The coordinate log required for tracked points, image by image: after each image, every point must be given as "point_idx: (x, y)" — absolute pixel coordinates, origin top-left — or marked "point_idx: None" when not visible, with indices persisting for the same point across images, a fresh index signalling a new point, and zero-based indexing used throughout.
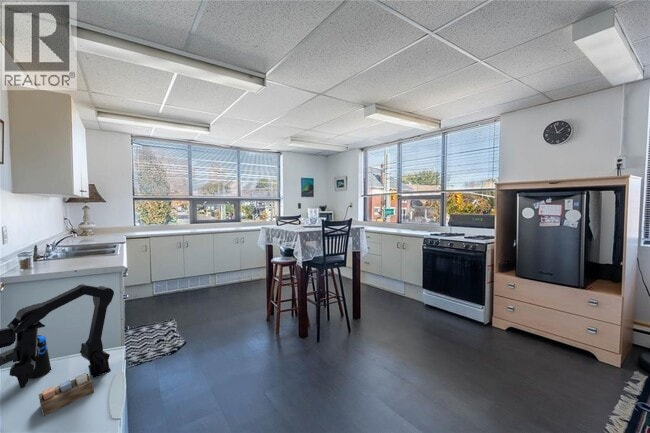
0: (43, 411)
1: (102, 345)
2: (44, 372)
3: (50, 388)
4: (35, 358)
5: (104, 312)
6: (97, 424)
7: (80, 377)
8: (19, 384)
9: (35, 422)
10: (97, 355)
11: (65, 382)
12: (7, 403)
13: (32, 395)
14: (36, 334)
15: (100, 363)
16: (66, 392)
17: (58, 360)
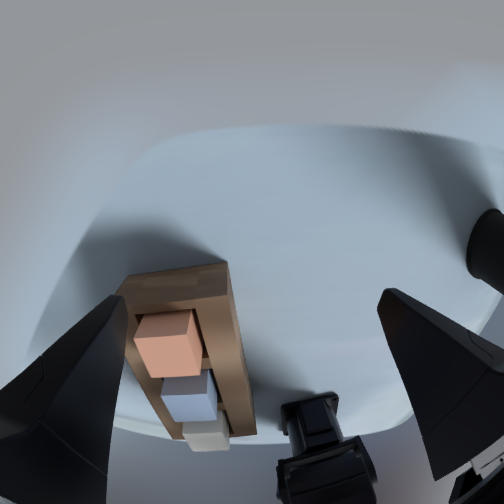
0: (119, 288)
1: None
2: (473, 264)
3: (184, 366)
4: (438, 462)
5: None
6: None
7: (199, 441)
8: (77, 324)
9: (104, 249)
10: (277, 498)
11: (198, 409)
12: (381, 134)
13: (362, 224)
14: None
15: (293, 455)
16: (146, 386)
17: None
